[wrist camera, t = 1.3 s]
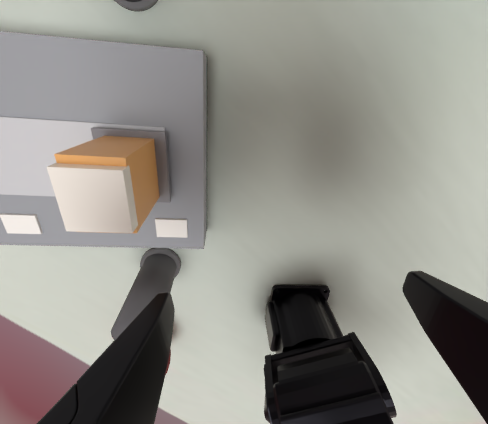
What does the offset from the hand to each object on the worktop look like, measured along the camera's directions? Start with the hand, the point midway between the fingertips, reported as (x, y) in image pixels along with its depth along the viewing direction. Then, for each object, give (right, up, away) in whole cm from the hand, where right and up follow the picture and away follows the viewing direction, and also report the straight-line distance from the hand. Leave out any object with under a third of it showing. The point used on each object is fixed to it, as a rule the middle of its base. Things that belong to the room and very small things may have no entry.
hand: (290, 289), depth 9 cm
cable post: (-10, -2, +15) cm, 18 cm away
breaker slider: (-9, +6, +7) cm, 13 cm away
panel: (-13, +8, +10) cm, 18 cm away
